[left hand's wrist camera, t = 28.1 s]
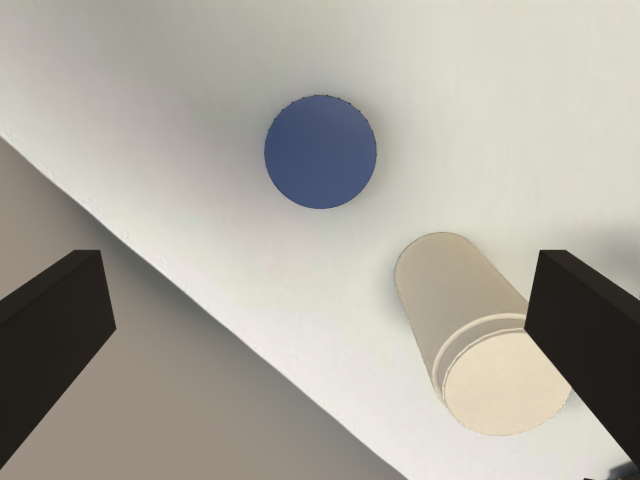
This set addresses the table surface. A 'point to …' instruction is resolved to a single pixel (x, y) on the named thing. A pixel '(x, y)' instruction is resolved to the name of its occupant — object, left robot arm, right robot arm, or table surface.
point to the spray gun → (632, 477)
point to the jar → (476, 338)
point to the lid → (320, 152)
